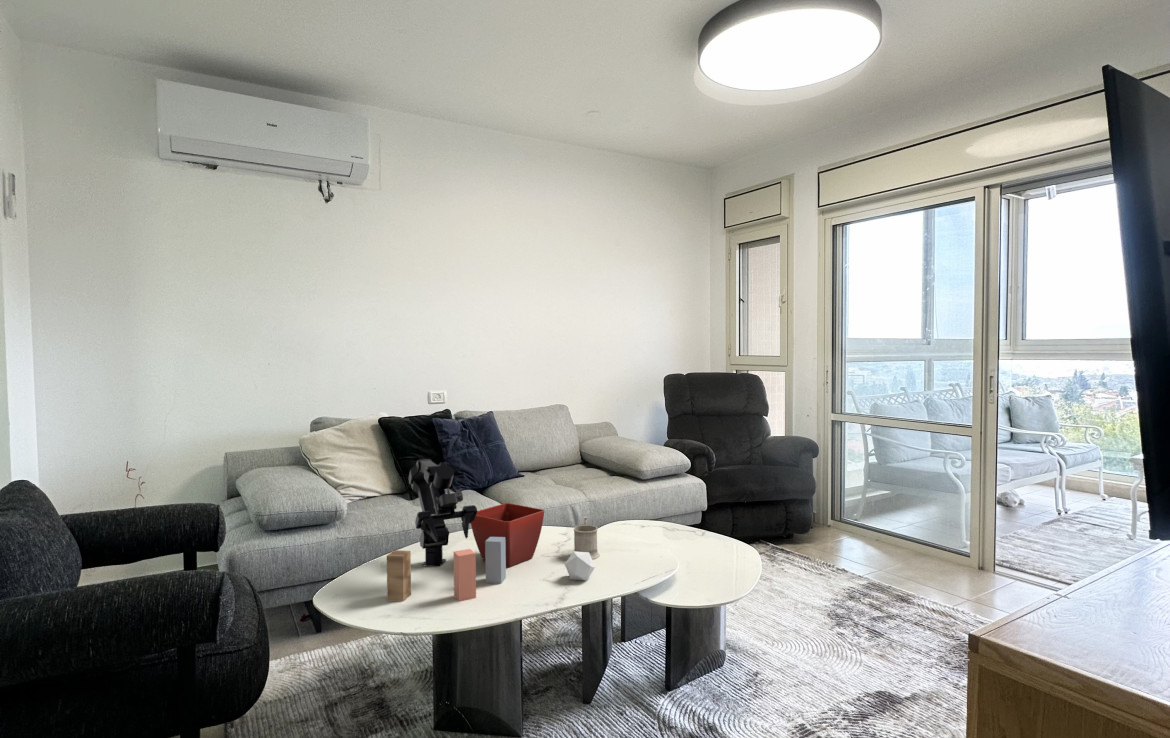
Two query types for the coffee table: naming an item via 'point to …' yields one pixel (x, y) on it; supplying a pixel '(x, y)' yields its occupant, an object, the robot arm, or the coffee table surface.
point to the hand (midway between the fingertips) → (452, 539)
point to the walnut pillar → (398, 575)
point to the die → (580, 565)
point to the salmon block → (464, 574)
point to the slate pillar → (495, 559)
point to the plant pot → (509, 530)
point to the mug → (586, 539)
